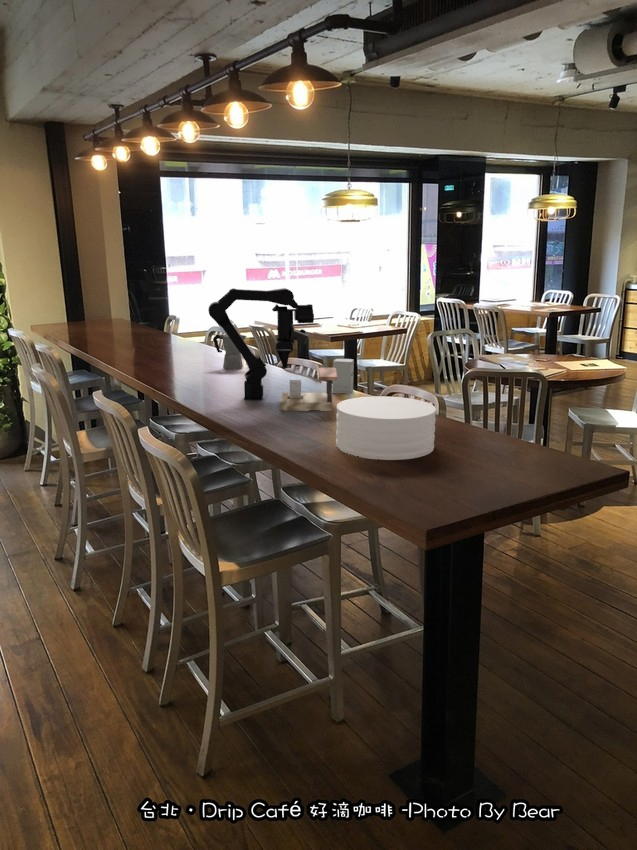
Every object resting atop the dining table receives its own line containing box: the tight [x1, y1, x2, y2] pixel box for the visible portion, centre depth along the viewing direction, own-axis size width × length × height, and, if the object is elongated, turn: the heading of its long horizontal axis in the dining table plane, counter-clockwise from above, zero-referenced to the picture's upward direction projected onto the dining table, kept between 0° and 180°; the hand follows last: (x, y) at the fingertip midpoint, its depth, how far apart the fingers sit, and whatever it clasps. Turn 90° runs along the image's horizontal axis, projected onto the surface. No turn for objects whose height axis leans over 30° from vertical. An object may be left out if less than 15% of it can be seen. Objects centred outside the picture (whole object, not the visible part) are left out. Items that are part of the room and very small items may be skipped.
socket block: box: [279, 367, 337, 412], centre depth 241 cm, size 20×18×12 cm
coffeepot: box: [212, 333, 247, 370], centre depth 314 cm, size 15×9×18 cm, turn 103°
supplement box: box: [332, 358, 355, 395], centre depth 264 cm, size 7×7×13 cm
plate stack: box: [335, 395, 437, 461], centre depth 194 cm, size 28×28×12 cm
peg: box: [289, 379, 302, 399], centre depth 242 cm, size 4×4×9 cm
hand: (285, 365), depth 253 cm, fingers open, 9 cm apart
